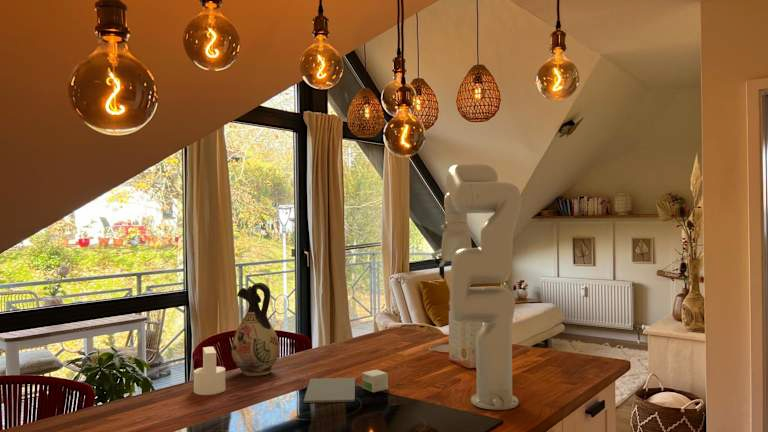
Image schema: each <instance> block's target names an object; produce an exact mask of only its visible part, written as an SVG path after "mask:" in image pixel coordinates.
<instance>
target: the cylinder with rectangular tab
mask: <svg viewBox="0 0 768 432" xmlns="http://www.w3.org/2000/svg"><path fill="white" fill-rule="evenodd" d="M225 391H226V368H225V367H224V366H217V352H216V349H215V347H214V346H205V347H202V367H198V368H196V369H194V370H193V393H194V394H196V395H200V396H211V395H217V394H221V393H222V392H225Z"/></svg>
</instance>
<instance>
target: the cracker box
mask: <svg viewBox="0 0 768 432" xmlns="http://www.w3.org/2000/svg"><path fill="white" fill-rule="evenodd" d="M483 325H484V322H473V323H460V322H456V321H455V320H454V319H453V318H452V316H451V313H450V301H448V360H449V361H450V362H454V363H456V364H458V365H460V366H462V367H465V368H467V369H476V338H477V335H478V332H479V331H480V329H481V328H482V326H483Z"/></svg>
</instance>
